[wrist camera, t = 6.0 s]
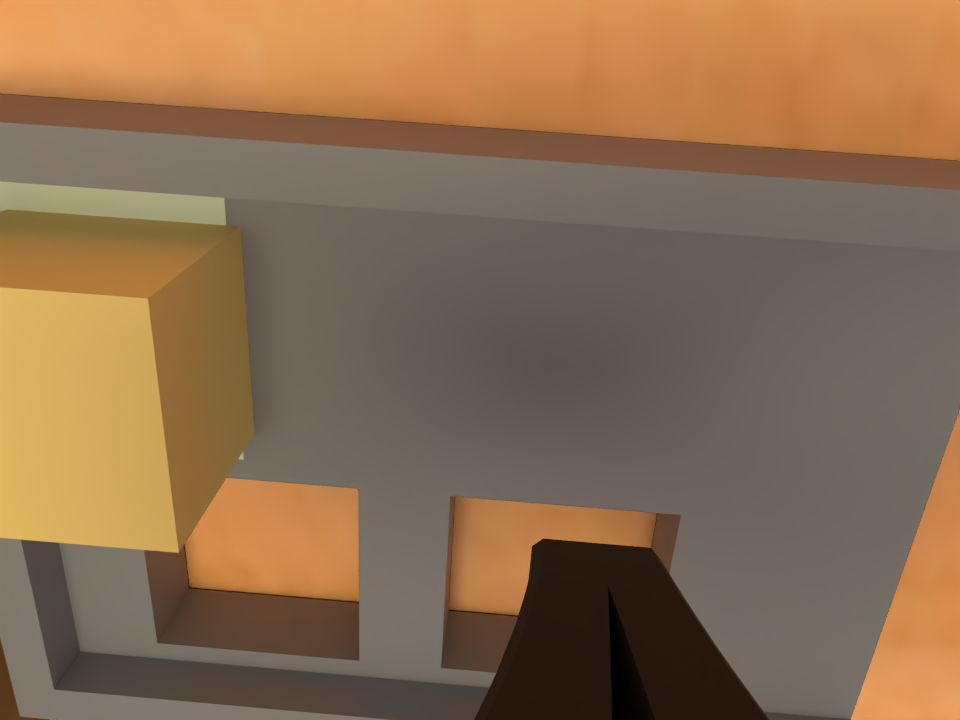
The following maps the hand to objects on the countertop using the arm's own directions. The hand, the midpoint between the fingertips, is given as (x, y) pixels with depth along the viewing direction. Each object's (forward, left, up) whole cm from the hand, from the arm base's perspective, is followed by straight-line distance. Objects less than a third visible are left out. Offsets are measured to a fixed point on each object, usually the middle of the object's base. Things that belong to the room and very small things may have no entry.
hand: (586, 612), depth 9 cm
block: (+9, 0, -7) cm, 11 cm away
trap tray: (+2, +3, -9) cm, 10 cm away
